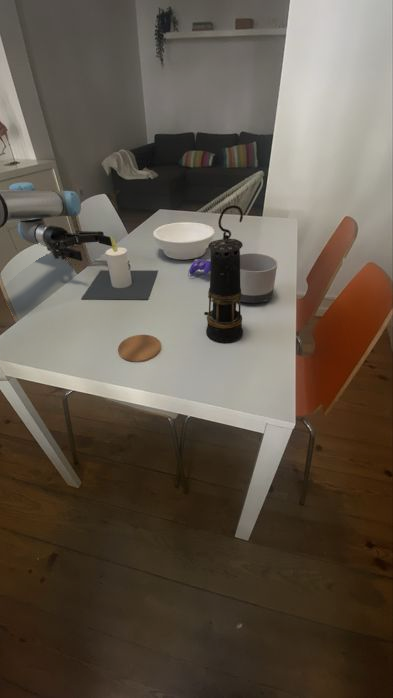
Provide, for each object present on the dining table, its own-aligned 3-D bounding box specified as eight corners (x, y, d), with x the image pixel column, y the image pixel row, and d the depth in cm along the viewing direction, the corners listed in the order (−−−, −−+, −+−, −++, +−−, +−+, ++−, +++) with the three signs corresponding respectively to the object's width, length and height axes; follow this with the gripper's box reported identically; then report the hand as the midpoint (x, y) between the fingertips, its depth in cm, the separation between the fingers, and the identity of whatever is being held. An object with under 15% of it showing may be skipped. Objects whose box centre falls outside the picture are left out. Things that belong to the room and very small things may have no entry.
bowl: (164, 241, 131) (163, 220, 126) (218, 244, 128) (219, 223, 122) (147, 263, 114) (144, 240, 109) (209, 267, 110) (209, 243, 105)
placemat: (81, 299, 94) (80, 298, 94) (100, 271, 110) (100, 270, 109) (148, 300, 93) (147, 299, 93) (158, 271, 109) (157, 270, 108)
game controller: (178, 266, 102) (197, 251, 106) (188, 288, 106) (206, 273, 111) (199, 266, 95) (219, 249, 99) (209, 289, 99) (227, 272, 104)
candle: (130, 288, 98) (122, 239, 89) (109, 288, 99) (99, 240, 89) (134, 279, 103) (127, 232, 94) (114, 279, 104) (105, 232, 94)
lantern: (202, 325, 82) (200, 200, 63) (235, 320, 83) (244, 196, 65) (211, 346, 75) (212, 212, 56) (248, 340, 76) (261, 208, 58)
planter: (274, 288, 97) (279, 255, 90) (269, 309, 87) (274, 274, 81) (233, 283, 100) (235, 251, 94) (223, 303, 90) (225, 268, 84)
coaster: (113, 361, 71) (113, 360, 71) (123, 335, 79) (123, 334, 79) (157, 362, 70) (157, 361, 70) (163, 336, 78) (163, 334, 78)
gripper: (84, 237, 118) (126, 247, 109) (24, 260, 102) (68, 275, 93) (79, 216, 114) (123, 225, 105) (16, 237, 98) (61, 250, 88)
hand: (97, 248), depth 99 cm, fingers open, 13 cm apart
